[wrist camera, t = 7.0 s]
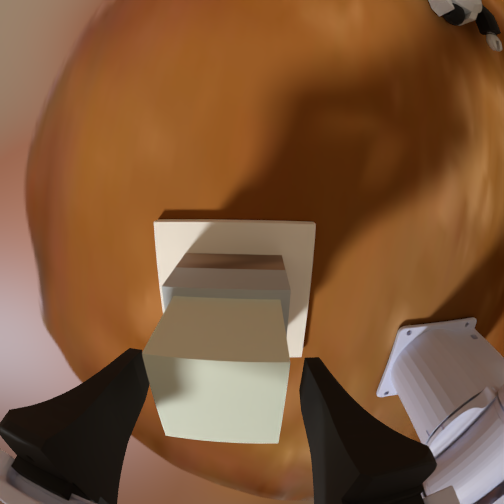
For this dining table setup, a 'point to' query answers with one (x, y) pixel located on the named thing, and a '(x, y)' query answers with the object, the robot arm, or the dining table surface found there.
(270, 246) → the cream board
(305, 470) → the dining table surface
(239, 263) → the walnut slab
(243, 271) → the light grey flat block
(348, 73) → the dining table surface
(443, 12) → the robot toy
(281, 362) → the sage block
